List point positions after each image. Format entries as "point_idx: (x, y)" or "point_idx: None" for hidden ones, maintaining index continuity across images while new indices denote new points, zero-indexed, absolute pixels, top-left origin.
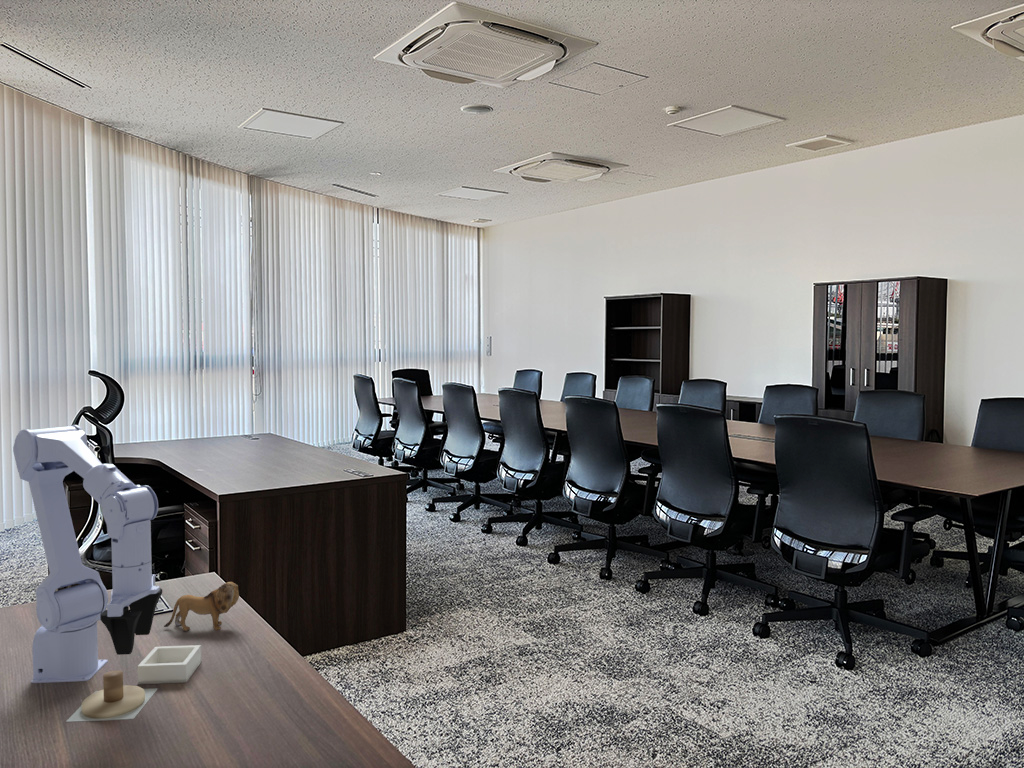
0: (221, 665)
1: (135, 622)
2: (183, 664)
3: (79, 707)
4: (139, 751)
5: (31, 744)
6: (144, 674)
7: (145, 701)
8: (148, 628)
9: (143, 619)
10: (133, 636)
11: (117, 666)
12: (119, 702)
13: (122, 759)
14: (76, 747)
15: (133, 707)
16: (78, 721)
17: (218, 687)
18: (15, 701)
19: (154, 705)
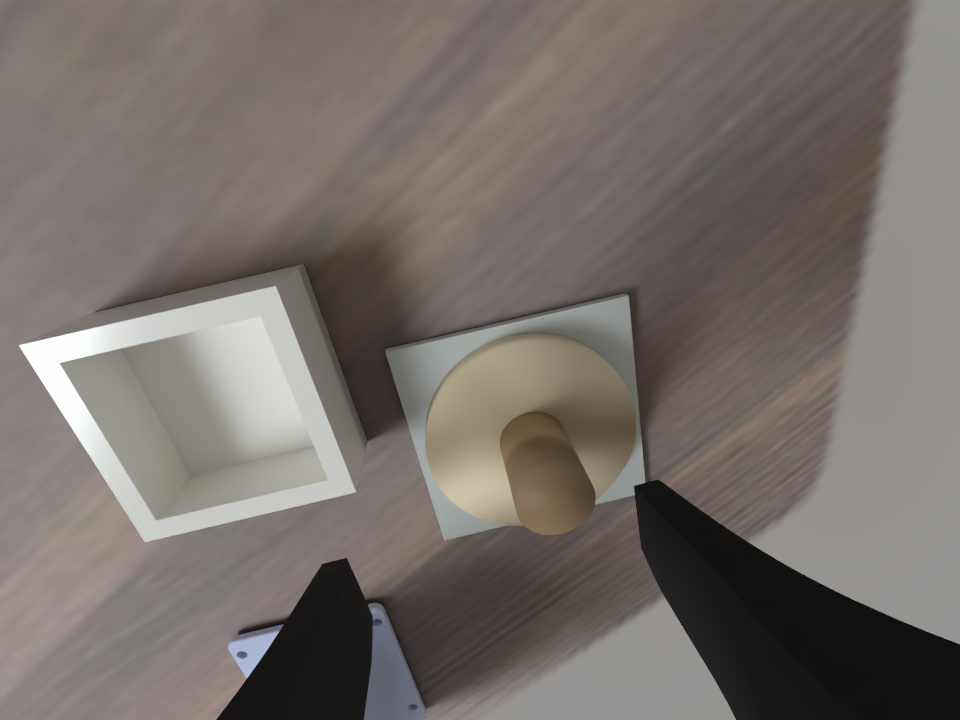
0: (62, 201)
1: (895, 651)
2: (280, 299)
3: None
4: (839, 132)
5: (748, 496)
6: (353, 445)
7: (497, 333)
8: (336, 594)
9: (331, 691)
10: (724, 551)
11: (245, 593)
12: (561, 402)
13: (883, 165)
14: (781, 369)
15: (568, 339)
16: (642, 460)
17: (290, 79)
18: (519, 678)
19: (501, 289)
